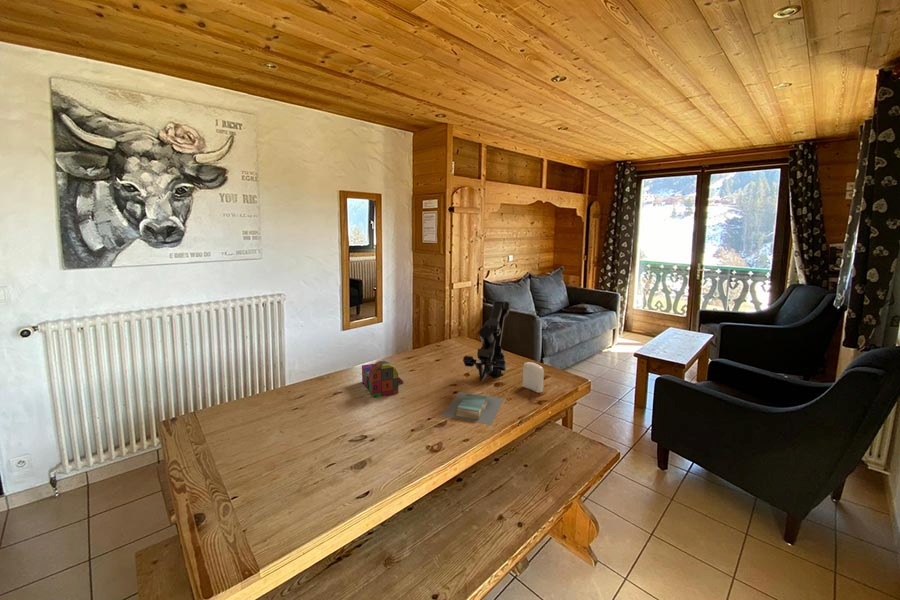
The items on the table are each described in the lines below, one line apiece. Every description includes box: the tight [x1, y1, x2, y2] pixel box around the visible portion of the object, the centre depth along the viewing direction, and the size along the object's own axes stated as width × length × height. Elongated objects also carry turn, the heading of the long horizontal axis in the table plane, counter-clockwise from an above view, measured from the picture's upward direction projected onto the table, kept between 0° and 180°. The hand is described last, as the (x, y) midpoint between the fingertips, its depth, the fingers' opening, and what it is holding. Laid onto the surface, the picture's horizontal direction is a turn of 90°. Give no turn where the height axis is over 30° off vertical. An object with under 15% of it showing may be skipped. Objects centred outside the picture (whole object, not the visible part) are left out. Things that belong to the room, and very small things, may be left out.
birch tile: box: [456, 393, 487, 419], centre depth 163 cm, size 3×9×14 cm
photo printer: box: [522, 361, 545, 394], centre depth 185 cm, size 10×4×12 cm, turn 39°
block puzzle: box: [361, 360, 404, 399], centre depth 189 cm, size 25×17×14 cm
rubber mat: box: [441, 391, 504, 426], centre depth 166 cm, size 24×20×1 cm
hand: (481, 381), depth 175 cm, fingers closed
